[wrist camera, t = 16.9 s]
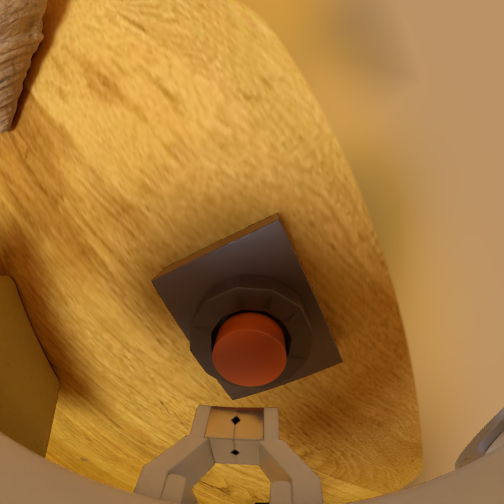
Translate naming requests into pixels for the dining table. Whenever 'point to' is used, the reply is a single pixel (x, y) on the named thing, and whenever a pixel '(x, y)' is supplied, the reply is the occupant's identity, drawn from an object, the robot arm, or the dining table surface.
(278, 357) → the button
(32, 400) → the flower pot
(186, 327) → the button block
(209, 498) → the dining table surface
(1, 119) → the seashell
